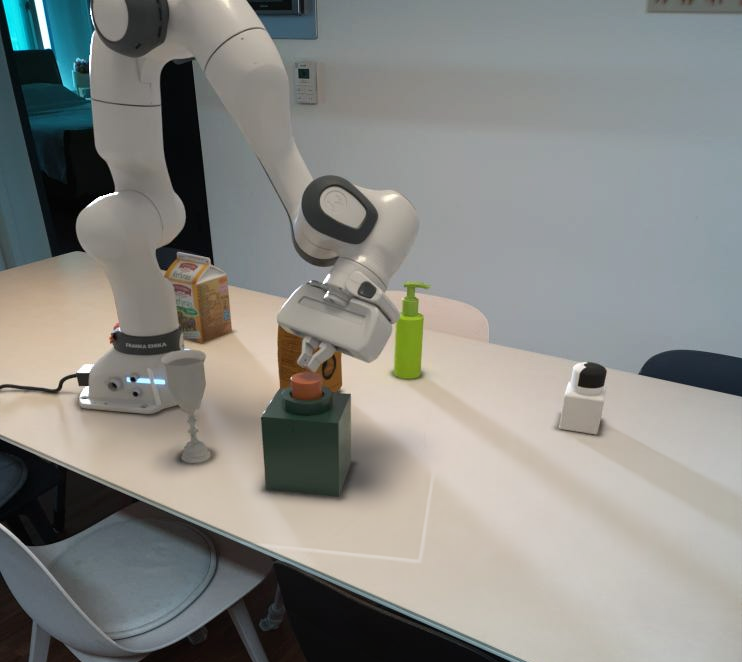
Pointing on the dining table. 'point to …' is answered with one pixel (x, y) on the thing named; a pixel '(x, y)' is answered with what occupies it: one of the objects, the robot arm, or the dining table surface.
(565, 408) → the medicine bottle
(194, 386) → the chalice
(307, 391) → the red push button
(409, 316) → the soap dispenser
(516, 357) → the dining table surface
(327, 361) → the coffee package
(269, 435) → the push button housing
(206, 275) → the milk carton
